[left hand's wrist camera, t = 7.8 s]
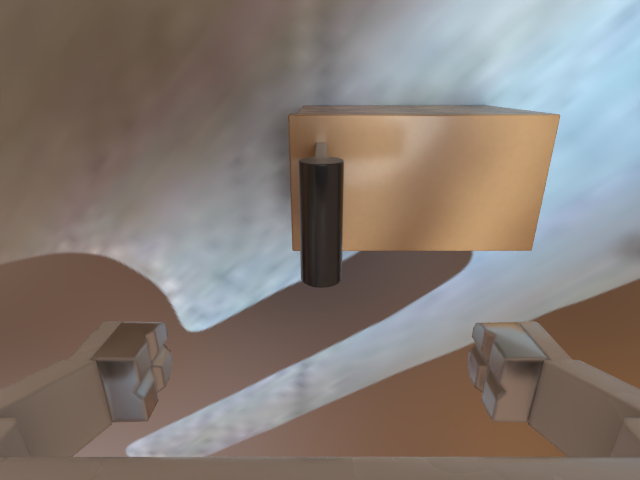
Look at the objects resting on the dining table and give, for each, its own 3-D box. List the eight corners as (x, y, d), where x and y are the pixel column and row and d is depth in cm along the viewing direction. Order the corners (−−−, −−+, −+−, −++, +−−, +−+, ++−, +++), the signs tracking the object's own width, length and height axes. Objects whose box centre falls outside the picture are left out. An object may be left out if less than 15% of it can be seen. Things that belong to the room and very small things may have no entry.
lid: (293, 244, 29) (281, 314, 20) (289, 113, 26) (273, 128, 17) (523, 244, 29) (611, 313, 20) (550, 113, 26) (670, 128, 17)
